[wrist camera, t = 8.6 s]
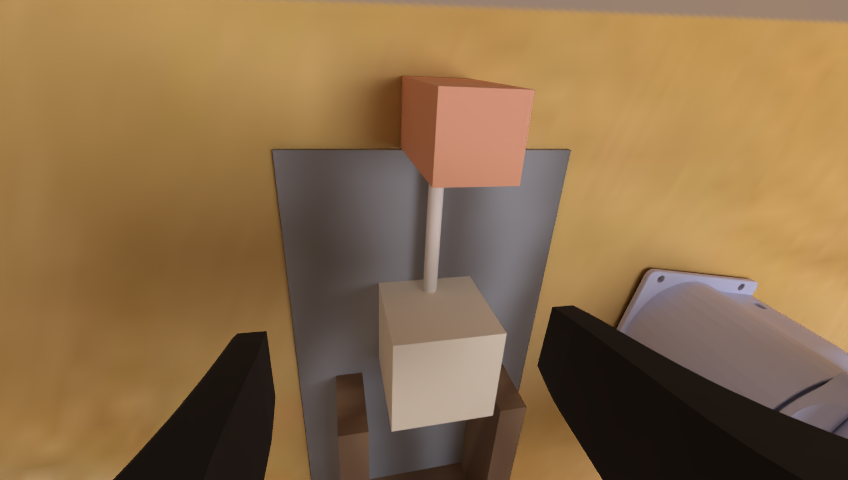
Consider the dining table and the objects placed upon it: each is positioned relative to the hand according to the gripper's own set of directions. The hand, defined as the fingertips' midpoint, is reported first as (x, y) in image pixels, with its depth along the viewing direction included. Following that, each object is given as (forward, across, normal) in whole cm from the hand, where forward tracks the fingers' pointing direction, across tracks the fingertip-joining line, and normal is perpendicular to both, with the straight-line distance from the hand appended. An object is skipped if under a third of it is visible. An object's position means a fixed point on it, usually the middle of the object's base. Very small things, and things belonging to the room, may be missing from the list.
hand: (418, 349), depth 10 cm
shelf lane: (+10, -3, +10) cm, 14 cm away
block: (+10, -3, +2) cm, 10 cm away
